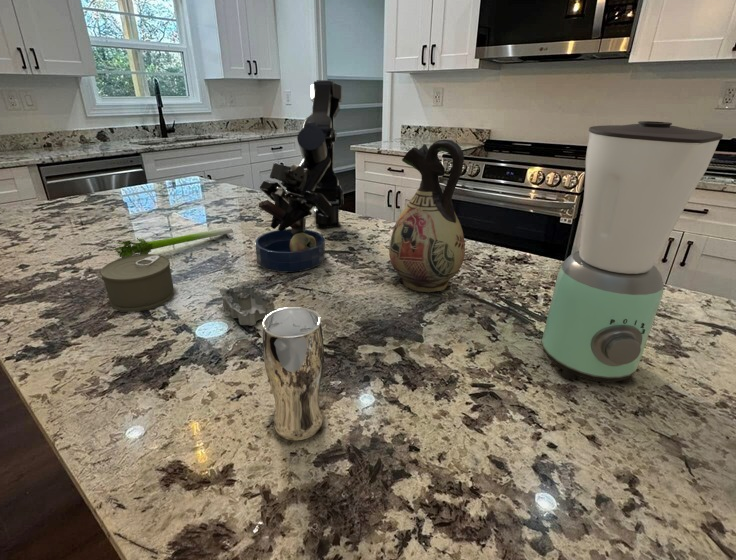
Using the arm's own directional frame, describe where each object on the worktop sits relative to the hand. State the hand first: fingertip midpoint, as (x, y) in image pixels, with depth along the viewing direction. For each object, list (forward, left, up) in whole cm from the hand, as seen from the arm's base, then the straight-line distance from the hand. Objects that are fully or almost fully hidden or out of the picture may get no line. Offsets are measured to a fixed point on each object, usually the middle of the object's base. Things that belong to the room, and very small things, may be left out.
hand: (276, 229), depth 92 cm
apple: (-4, -4, -7) cm, 9 cm away
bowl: (-3, -4, -9) cm, 11 cm away
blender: (-42, +47, -9) cm, 64 cm away
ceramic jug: (-29, +17, -9) cm, 35 cm away
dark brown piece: (-6, -4, -1) cm, 7 cm away
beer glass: (+3, +49, -9) cm, 50 cm away
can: (+28, +8, -9) cm, 30 cm away
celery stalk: (+24, -18, -9) cm, 31 cm away
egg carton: (+8, +19, -9) cm, 23 cm away
